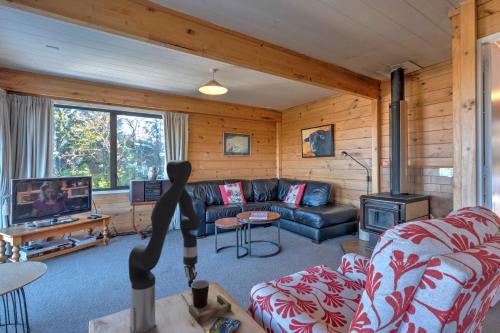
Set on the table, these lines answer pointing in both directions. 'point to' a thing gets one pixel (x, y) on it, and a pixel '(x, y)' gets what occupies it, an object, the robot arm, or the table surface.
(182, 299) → the table surface
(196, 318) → the walnut corral
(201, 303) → the coffee mug
